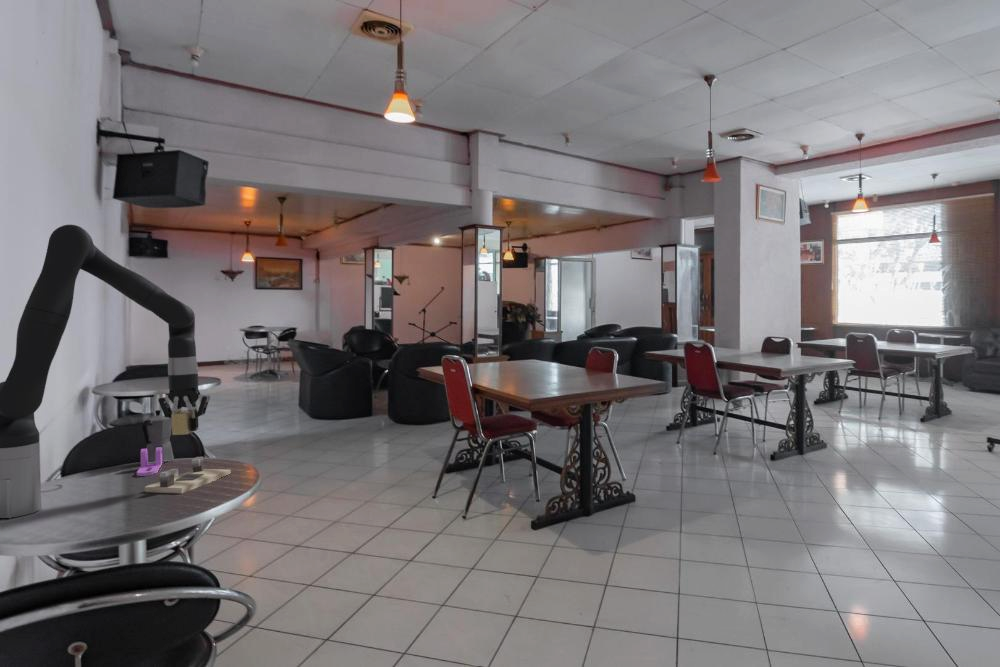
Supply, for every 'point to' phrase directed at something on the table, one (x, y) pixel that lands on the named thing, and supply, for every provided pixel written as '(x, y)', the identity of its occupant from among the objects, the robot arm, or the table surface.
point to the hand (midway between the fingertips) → (185, 430)
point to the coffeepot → (158, 436)
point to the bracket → (147, 466)
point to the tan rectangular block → (181, 423)
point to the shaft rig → (186, 478)
